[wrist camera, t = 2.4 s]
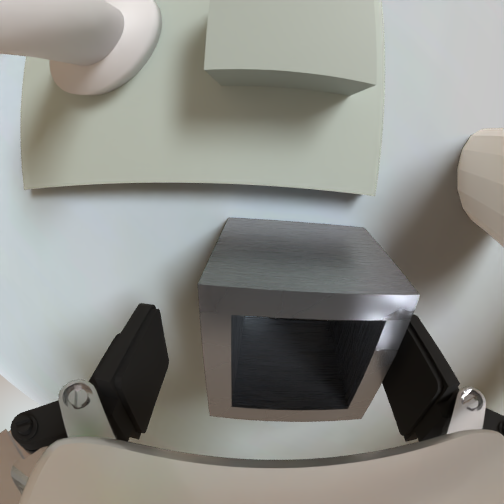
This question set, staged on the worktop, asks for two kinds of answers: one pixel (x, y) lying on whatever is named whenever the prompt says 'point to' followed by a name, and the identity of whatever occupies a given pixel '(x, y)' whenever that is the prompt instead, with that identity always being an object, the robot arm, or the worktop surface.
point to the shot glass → (483, 181)
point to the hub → (299, 331)
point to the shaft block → (200, 91)
